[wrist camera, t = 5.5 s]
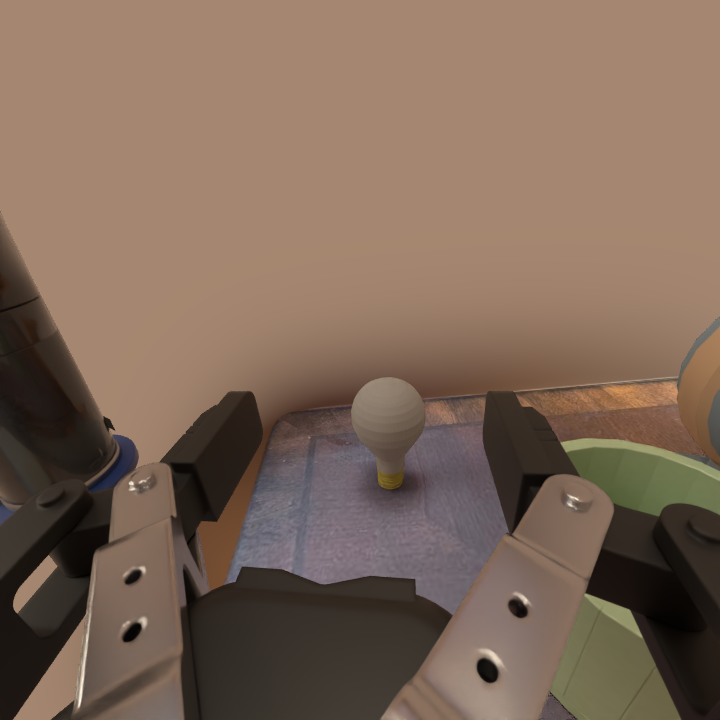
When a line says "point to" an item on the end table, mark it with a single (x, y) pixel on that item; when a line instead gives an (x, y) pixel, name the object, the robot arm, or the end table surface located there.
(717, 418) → the alarm clock
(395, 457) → the light bulb
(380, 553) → the end table surface
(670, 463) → the pot
